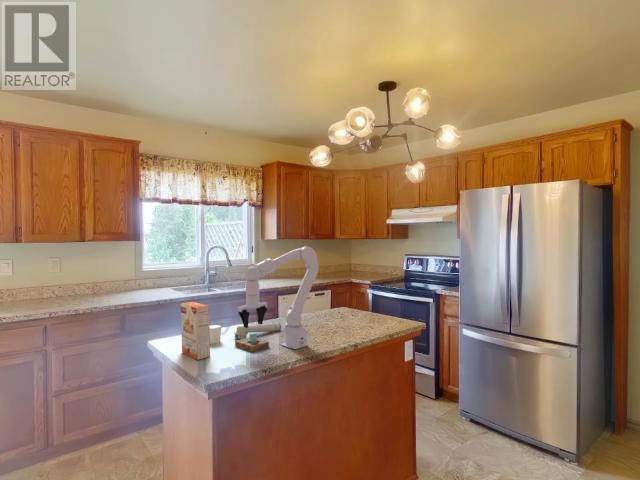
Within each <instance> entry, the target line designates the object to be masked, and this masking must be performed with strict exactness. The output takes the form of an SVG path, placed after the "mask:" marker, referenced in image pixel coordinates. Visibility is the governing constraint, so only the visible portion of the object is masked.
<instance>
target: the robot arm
mask: <svg viewBox="0 0 640 480" xmlns="http://www.w3.org/2000/svg"><path fill="white" fill-rule="evenodd" d="M292 260H299V261H300V260H302V261H303V263H304V265H305V267H306V272H305V274H304V276H303V278H302V280H301V283H300V286H299V288H298V290H297V293H296V295H295V297H294V300H293V302H292V304H291V305H290V307H289V308H288V309H287V310H286V311H285V318H286V322H285V323H284V335H285V336H284V341H285V342H283V343H281V344H280V345H281V346H283V347H286V348H290V349H292V350H297V349H301V348H305V347H307V346H309V344H308V335H307V334H308V333H307V332H308V331H307V329H306V328H305V327H304V326H303V325H302V322H301V321H302V313H303V309H304V306H305V303H306V301H307V299H308V296H309V294H310V291H311V289H312V286H313V285H314V282H315V279H316V278H317V275H318V272H319V269H320V267H319V262H318V255H317V253H316V251H315V250H314V248H313V247H310V246H305V245H304V246H302V247H300V248H295V249H293V250H291V251H289V252H286V253H284V254H283V255H280V256H278V257H276V258H275V259H272V258H264V259H263V261H261V262H258V263H254V264H253V266H249V267H248V268H247V269H246V271H245V278H246V279H245V283H246V284H245V304H244V305H239V306H237V312H238V315H239V316H240V319H241V321H242V326H244V327H245V328H248V326H249V318H250V314H251V313H250V312H249V311H251V310H256V314H257V325H262V324H263V322H264V318H265V315H266V312H267V311H268V302H266V301H262V302H260V282H259V281H260V280H259V278H260V277H264V276H267V275H268V274H270V273H272V272H274V271H276V268H277V267H278V266H280V265H282V264H285V263H287V262H290V261H292Z"/></svg>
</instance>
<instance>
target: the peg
mask: <svg viewBox="0 0 640 480" xmlns="http://www.w3.org/2000/svg"><path fill="white" fill-rule="evenodd" d="M248 337H250V343H251V344H254V343H257V338H258V332H250V333H249V336H248Z"/></svg>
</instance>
